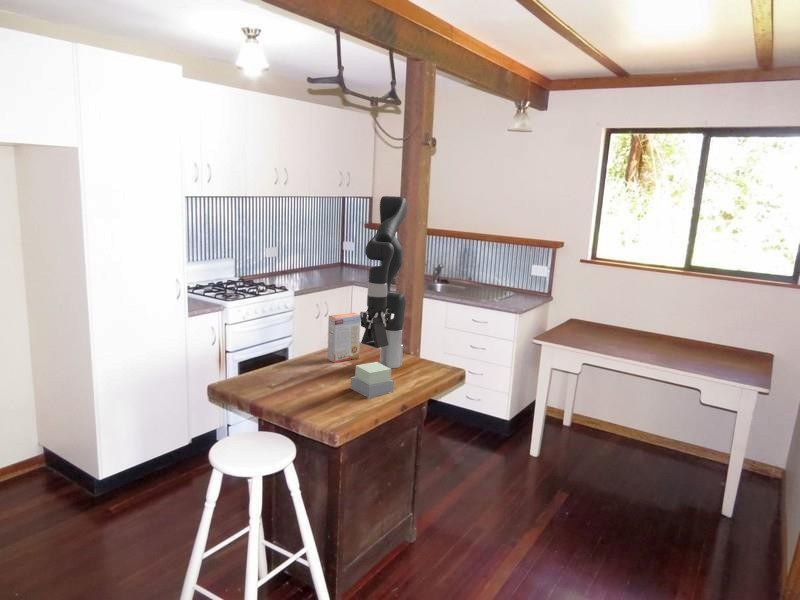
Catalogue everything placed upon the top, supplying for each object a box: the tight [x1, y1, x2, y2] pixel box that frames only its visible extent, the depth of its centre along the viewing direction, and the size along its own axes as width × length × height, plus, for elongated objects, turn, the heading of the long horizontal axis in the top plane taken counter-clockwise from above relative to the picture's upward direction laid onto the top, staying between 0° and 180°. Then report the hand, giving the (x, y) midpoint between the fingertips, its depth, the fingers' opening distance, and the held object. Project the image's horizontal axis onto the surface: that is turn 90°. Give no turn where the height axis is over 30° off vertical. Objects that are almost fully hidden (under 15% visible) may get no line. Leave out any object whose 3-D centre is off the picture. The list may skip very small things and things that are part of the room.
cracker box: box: [327, 312, 361, 363], centre depth 252 cm, size 14×6×21 cm, turn 130°
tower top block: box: [354, 361, 392, 385], centre depth 217 cm, size 10×10×5 cm
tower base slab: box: [349, 376, 395, 399], centre depth 218 cm, size 12×12×5 cm
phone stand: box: [360, 315, 388, 349], centre depth 213 cm, size 9×6×12 cm, turn 50°
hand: (374, 336), depth 214 cm, fingers closed on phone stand, 6 cm apart
